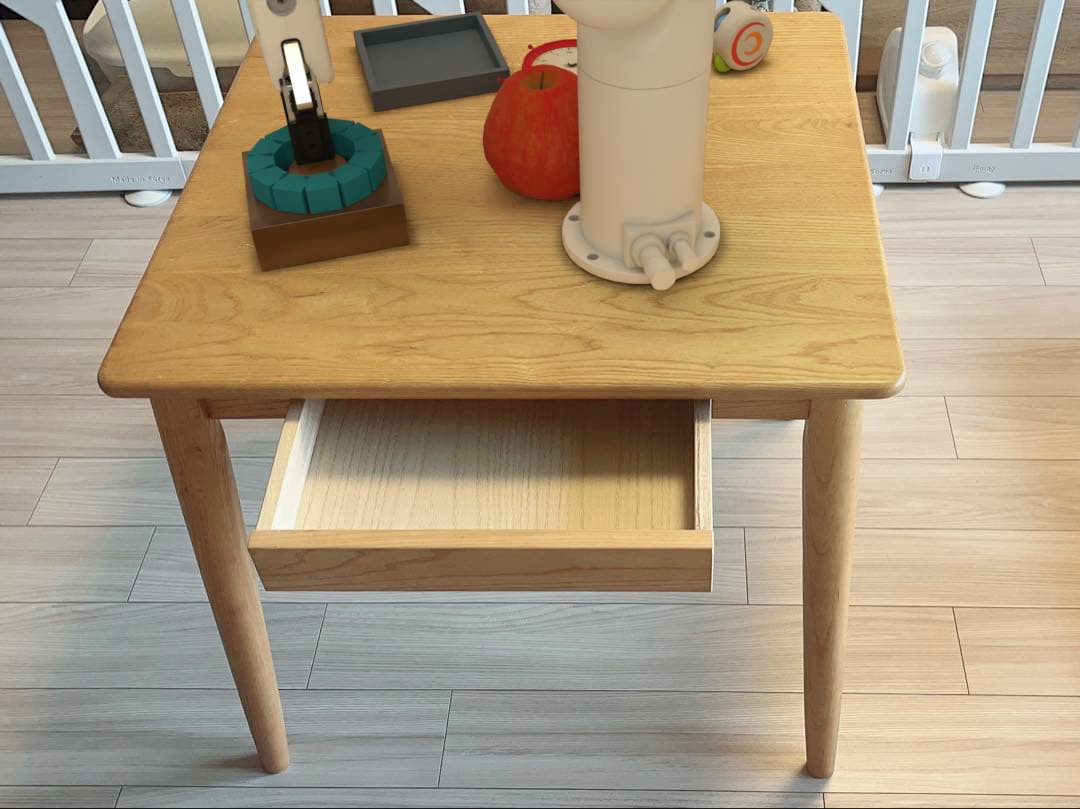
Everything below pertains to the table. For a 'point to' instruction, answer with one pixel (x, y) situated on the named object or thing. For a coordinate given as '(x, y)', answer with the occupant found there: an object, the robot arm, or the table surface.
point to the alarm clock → (552, 55)
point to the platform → (327, 221)
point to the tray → (430, 60)
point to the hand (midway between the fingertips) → (311, 143)
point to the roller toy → (740, 36)
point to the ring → (321, 188)
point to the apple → (535, 133)
